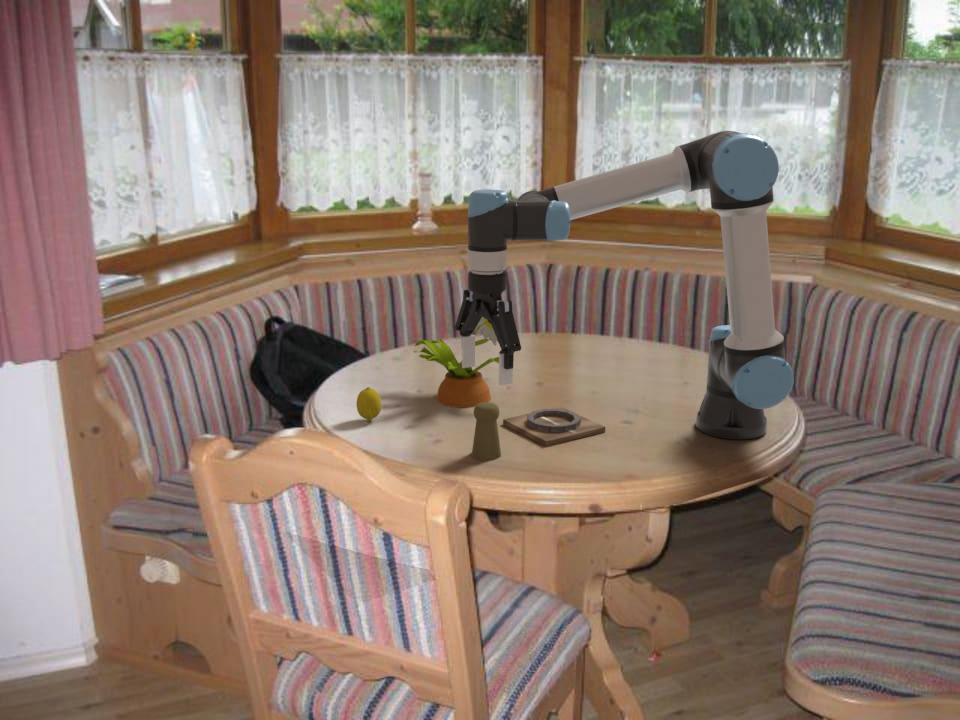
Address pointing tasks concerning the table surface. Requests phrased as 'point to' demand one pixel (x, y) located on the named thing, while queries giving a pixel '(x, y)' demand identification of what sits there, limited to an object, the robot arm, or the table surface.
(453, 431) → the table surface
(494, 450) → the olive round stacked cylinder
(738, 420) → the robot arm
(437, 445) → the table surface
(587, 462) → the table surface
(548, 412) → the socket board
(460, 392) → the decorative plant
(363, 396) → the lemon
